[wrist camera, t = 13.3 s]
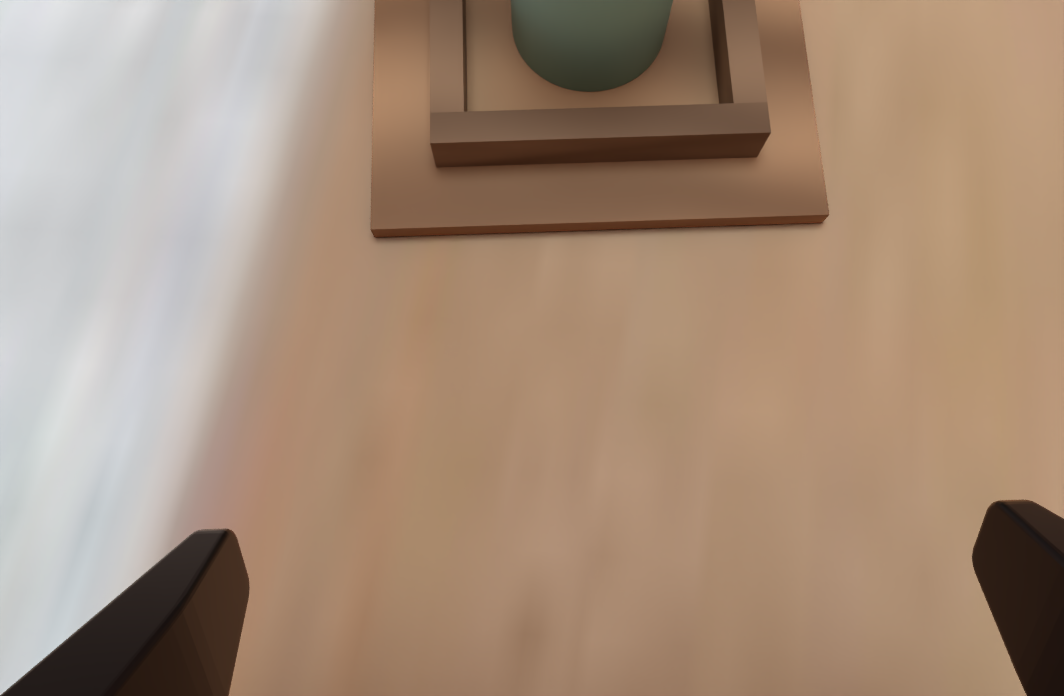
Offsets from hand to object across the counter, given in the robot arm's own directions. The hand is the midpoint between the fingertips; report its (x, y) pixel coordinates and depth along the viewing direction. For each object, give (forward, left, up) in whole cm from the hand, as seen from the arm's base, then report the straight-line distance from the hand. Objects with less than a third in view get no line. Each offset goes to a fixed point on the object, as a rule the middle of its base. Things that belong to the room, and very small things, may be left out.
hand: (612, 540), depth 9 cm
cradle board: (+5, -16, -13) cm, 21 cm away
